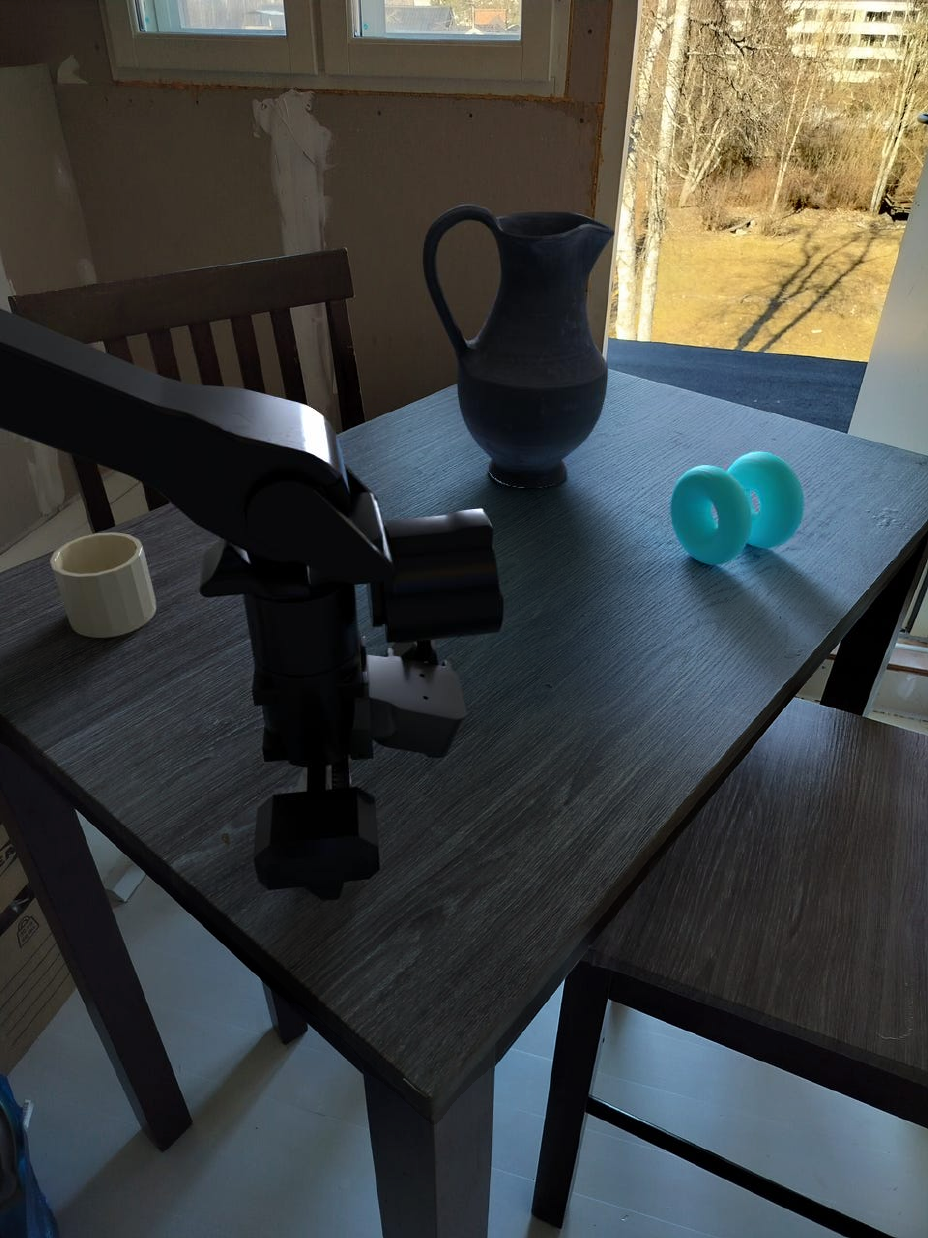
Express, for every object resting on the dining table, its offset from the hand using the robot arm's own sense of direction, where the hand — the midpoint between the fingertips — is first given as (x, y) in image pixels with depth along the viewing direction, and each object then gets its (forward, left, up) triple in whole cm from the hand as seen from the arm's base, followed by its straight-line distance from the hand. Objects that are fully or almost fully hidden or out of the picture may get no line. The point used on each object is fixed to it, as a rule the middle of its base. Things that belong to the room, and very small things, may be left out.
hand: (330, 838), depth 55 cm
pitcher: (+22, +56, -2) cm, 60 cm away
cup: (-20, +31, -2) cm, 37 cm away
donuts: (+41, +35, -2) cm, 54 cm away
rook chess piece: (0, 0, -2) cm, 2 cm away
